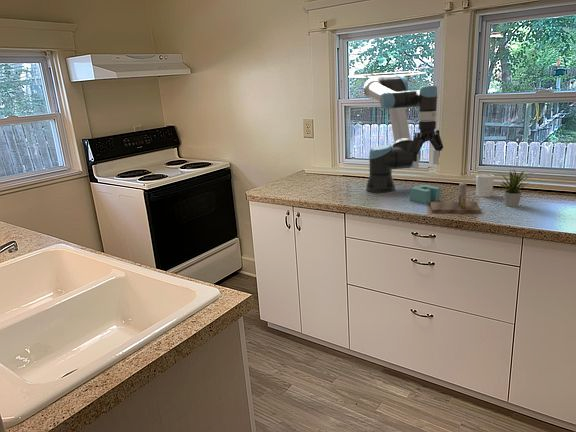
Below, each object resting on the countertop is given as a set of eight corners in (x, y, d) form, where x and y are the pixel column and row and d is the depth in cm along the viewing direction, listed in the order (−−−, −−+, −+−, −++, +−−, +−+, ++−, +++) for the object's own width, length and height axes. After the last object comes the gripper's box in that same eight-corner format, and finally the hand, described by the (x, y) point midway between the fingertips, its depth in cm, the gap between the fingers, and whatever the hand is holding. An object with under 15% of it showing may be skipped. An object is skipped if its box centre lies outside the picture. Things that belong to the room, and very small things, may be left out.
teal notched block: (409, 199, 213) (409, 187, 211) (424, 196, 217) (424, 184, 216) (425, 203, 204) (425, 191, 203) (440, 199, 209) (440, 187, 207)
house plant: (540, 207, 188) (545, 170, 183) (514, 211, 185) (518, 174, 180) (515, 200, 201) (518, 165, 197) (490, 204, 198) (493, 168, 193)
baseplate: (431, 212, 190) (432, 187, 187) (429, 204, 203) (430, 180, 199) (480, 213, 185) (482, 187, 182) (476, 205, 197) (477, 180, 194)
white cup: (494, 197, 208) (496, 177, 205) (476, 197, 209) (478, 177, 206) (490, 193, 215) (492, 173, 212) (473, 193, 217) (474, 173, 214)
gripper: (414, 123, 191) (413, 171, 197) (452, 118, 203) (450, 163, 209) (401, 122, 197) (401, 169, 203) (439, 117, 209) (437, 161, 215)
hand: (426, 166), depth 206 cm, fingers open, 13 cm apart
